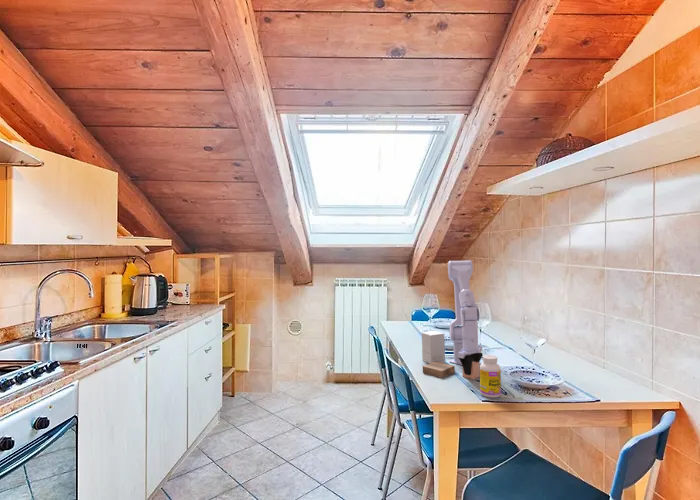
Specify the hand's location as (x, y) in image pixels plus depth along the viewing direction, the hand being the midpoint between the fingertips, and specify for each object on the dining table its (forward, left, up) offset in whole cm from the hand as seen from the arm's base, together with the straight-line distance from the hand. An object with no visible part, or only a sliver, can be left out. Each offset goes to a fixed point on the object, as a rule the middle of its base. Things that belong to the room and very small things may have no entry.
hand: (471, 372), depth 149 cm
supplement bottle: (+12, +14, -2) cm, 19 cm away
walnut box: (+4, -12, -2) cm, 13 cm away
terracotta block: (0, 0, -1) cm, 1 cm away
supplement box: (-7, -22, -2) cm, 23 cm away
